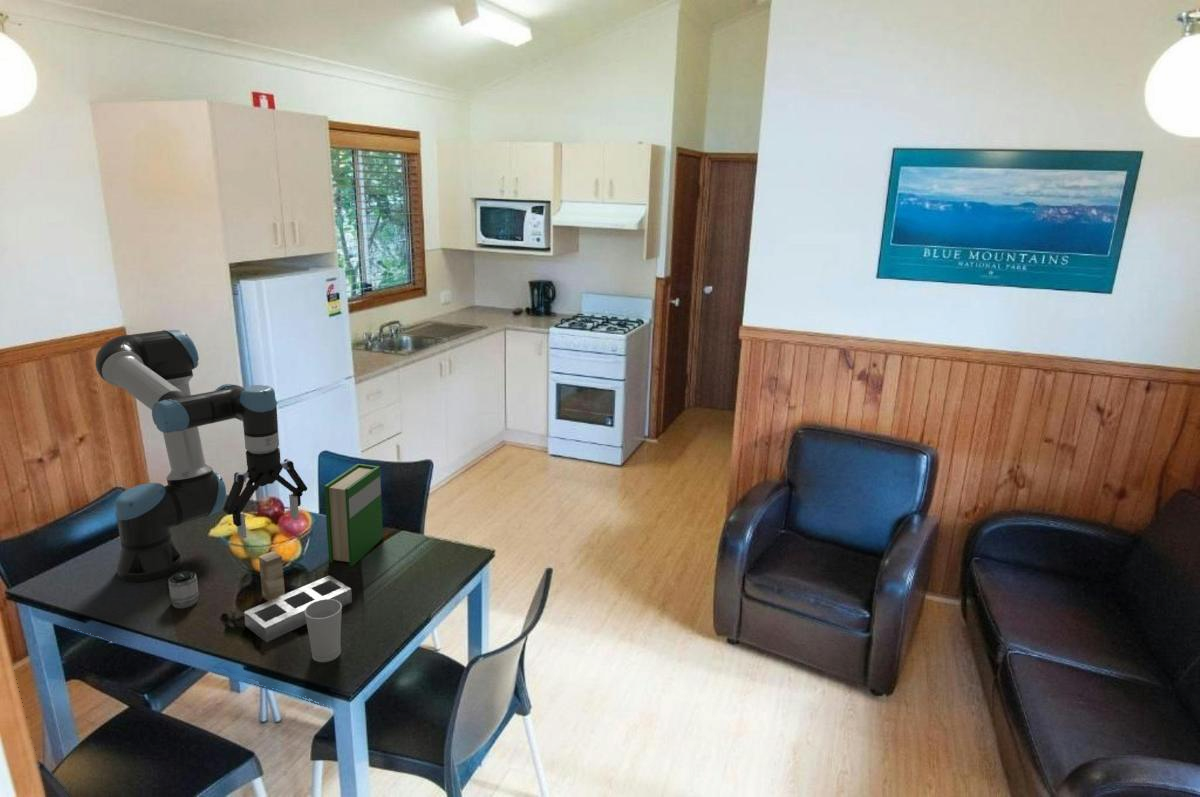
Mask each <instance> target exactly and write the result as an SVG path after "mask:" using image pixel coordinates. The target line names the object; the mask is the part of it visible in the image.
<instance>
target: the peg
mask: <svg viewBox="0 0 1200 797" xmlns="http://www.w3.org/2000/svg"><path fill="white" fill-rule="evenodd" d="M258 563H259V571H260V572H259V573H260V576H259V577H260V584H261V596H262V598H263V599H264V600H266V602H268V601H270V600H273V599H275V598H277V597H280V596H282V595H284V594H286V590H285V579H284V578H285V577H284V567H283V558H282V555H281V554H279V553H278V552H276V551H274V550H273V551H270V552H267V553H264V554H262V555H259V556H258Z"/></svg>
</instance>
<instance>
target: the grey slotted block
mask: <svg viewBox="0 0 1200 797" xmlns="http://www.w3.org/2000/svg"><path fill="white" fill-rule="evenodd" d="M323 599H333V600H337V601H339V602H340V603H341V604H342V608H343V607H345V606H347V605H349V604H352V602H353V599H352V588H351V587H349V586H347V585H346V584H345V583H342V582H341V581H339V580H337V579H336V578H335V577H333V576H332V575H327V576H324V577H322V578H319V579H317V580H315V581H312V582H310V583H308V584H306V585H303V586H301V587H299V588H296V589H294V590H291V591H288V592H286V593H285V594H284V595H282V596H280V597H277V598H275V599H273V600H270V601H266V602H263V603H260V604H258V605H257V606H254V607H251V608H249V609H247V610H245V611H244V612H243V616H244V624H245V627H246V628H248V629H249V630H250V631H251V632H252V633H254V634H255V635H256V636H257V637H259V638H260V639H261V640H263V641H264V642H265V643H269V642H271V641H272V640H275V639H277V638H280V637H281V636H283V635H286V634H288V633H290V632H292V631H295V630H296V629H298V628H300V627H302V626H304V625H307V623H306V618H305V609H306V607H307V606H308V605H310V604H311V603H313V602H315V601H318V600H323Z"/></svg>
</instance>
